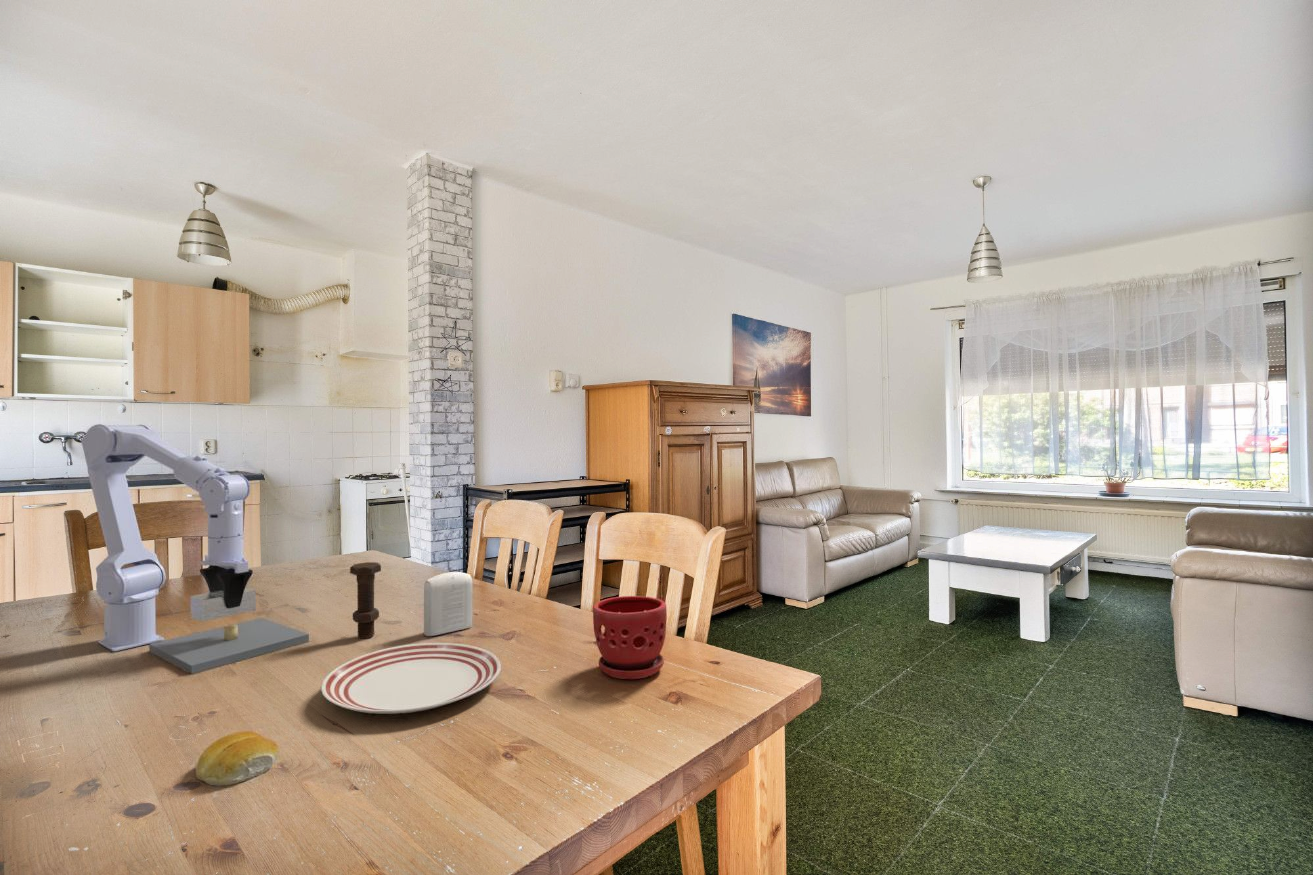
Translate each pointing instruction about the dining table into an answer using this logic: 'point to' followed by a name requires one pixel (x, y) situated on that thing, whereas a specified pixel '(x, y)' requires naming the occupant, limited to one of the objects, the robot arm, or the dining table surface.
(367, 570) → the bolt
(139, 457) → the robot arm
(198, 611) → the block with square hole
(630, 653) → the plant pot
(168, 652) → the pin board
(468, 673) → the dinner plate
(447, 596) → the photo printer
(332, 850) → the dining table surface
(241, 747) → the bread roll
